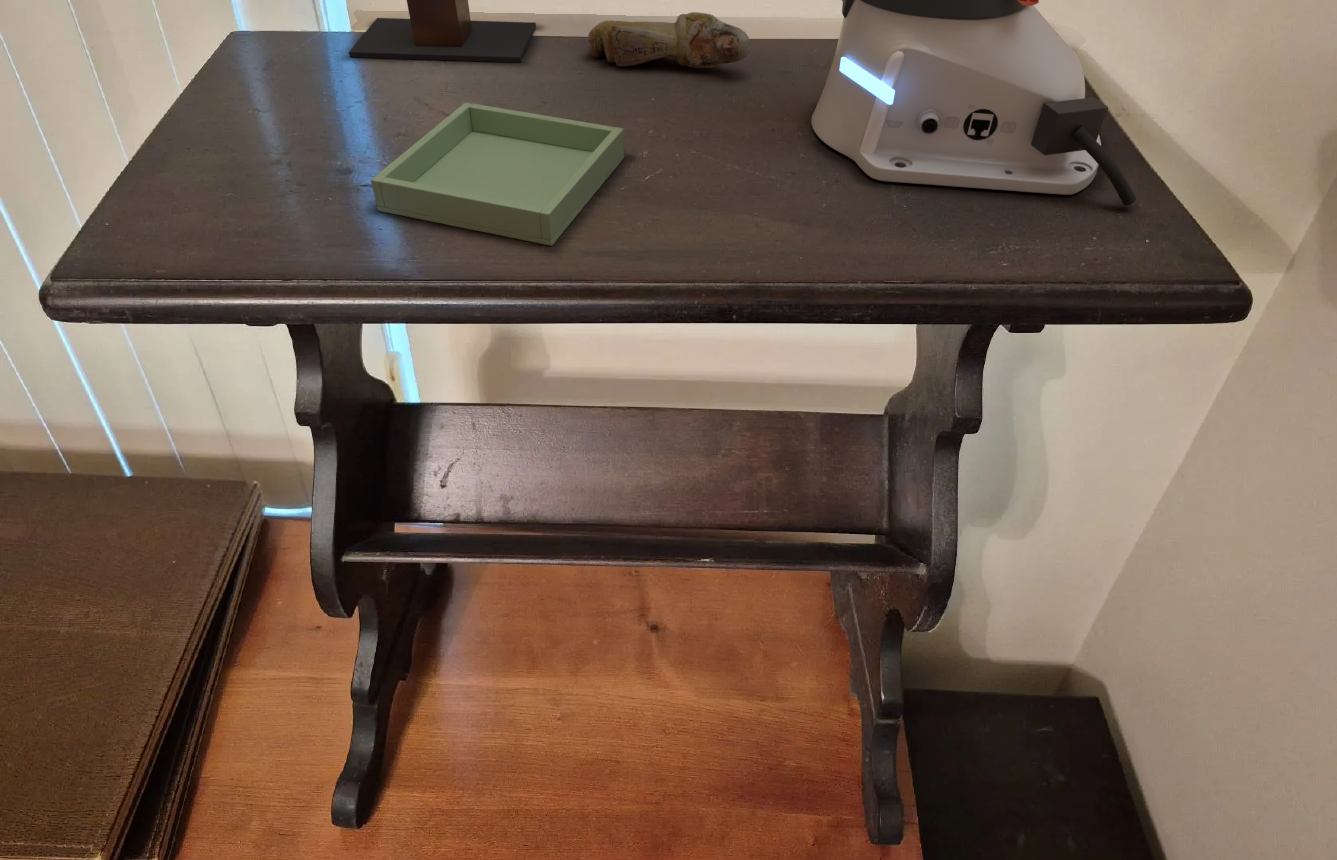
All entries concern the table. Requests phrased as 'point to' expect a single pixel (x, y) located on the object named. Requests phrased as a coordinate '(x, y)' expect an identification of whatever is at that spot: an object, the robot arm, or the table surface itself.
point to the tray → (501, 172)
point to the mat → (481, 45)
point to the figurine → (670, 41)
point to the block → (439, 22)
